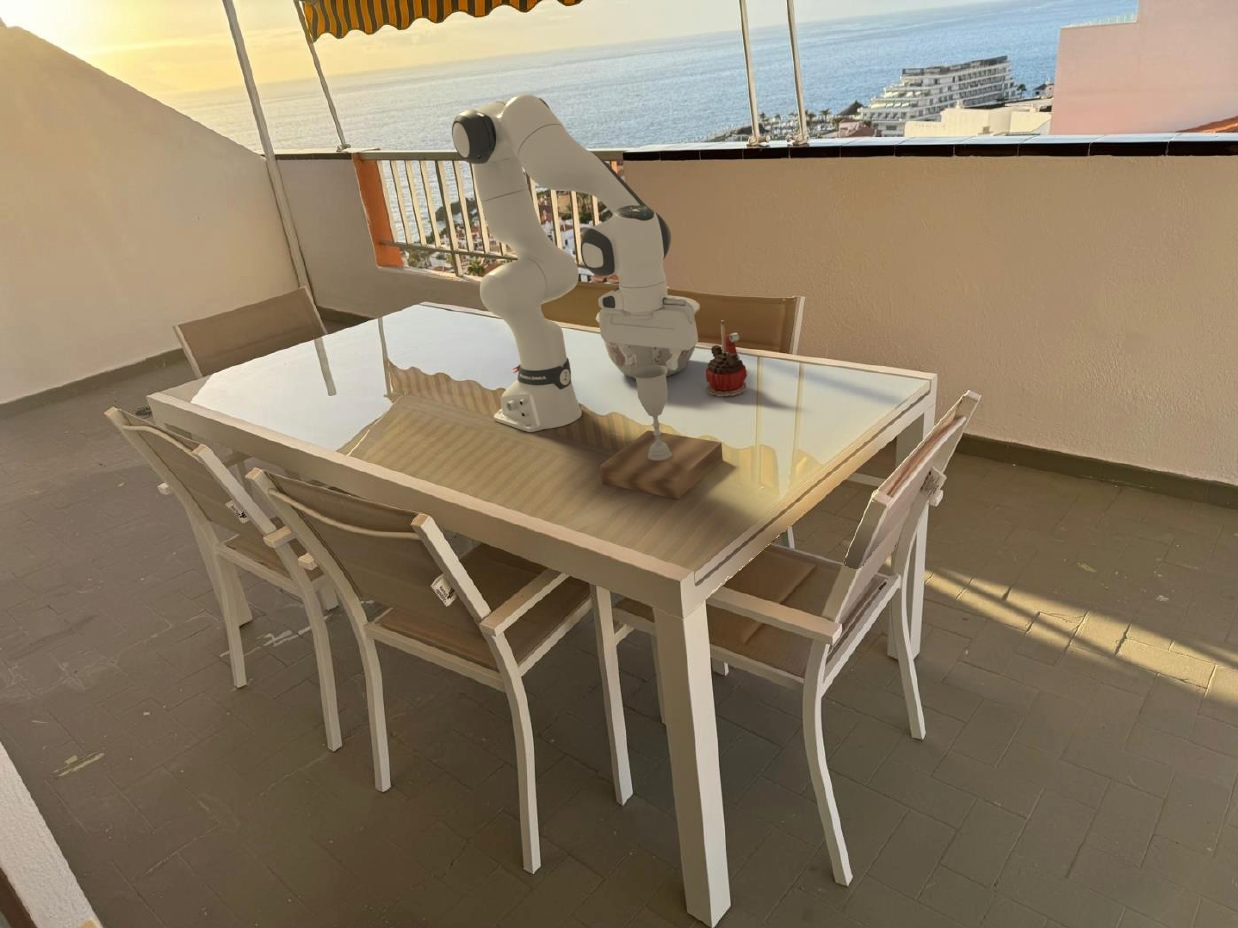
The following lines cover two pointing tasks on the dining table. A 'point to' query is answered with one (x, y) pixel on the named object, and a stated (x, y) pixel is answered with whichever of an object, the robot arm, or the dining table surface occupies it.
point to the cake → (726, 367)
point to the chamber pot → (649, 352)
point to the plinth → (662, 465)
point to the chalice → (653, 403)
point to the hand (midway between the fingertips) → (651, 366)
